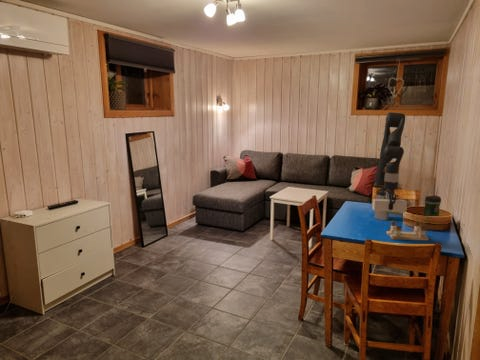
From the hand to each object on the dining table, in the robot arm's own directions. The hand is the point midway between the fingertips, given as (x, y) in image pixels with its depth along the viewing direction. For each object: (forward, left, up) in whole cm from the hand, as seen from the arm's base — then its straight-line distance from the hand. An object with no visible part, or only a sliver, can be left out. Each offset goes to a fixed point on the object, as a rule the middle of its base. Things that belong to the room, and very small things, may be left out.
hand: (389, 208), depth 203 cm
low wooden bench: (+1, +11, -17) cm, 21 cm away
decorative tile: (-55, +27, -18) cm, 64 cm away
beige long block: (0, 0, -1) cm, 1 cm away
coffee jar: (-29, +39, -17) cm, 52 cm away
